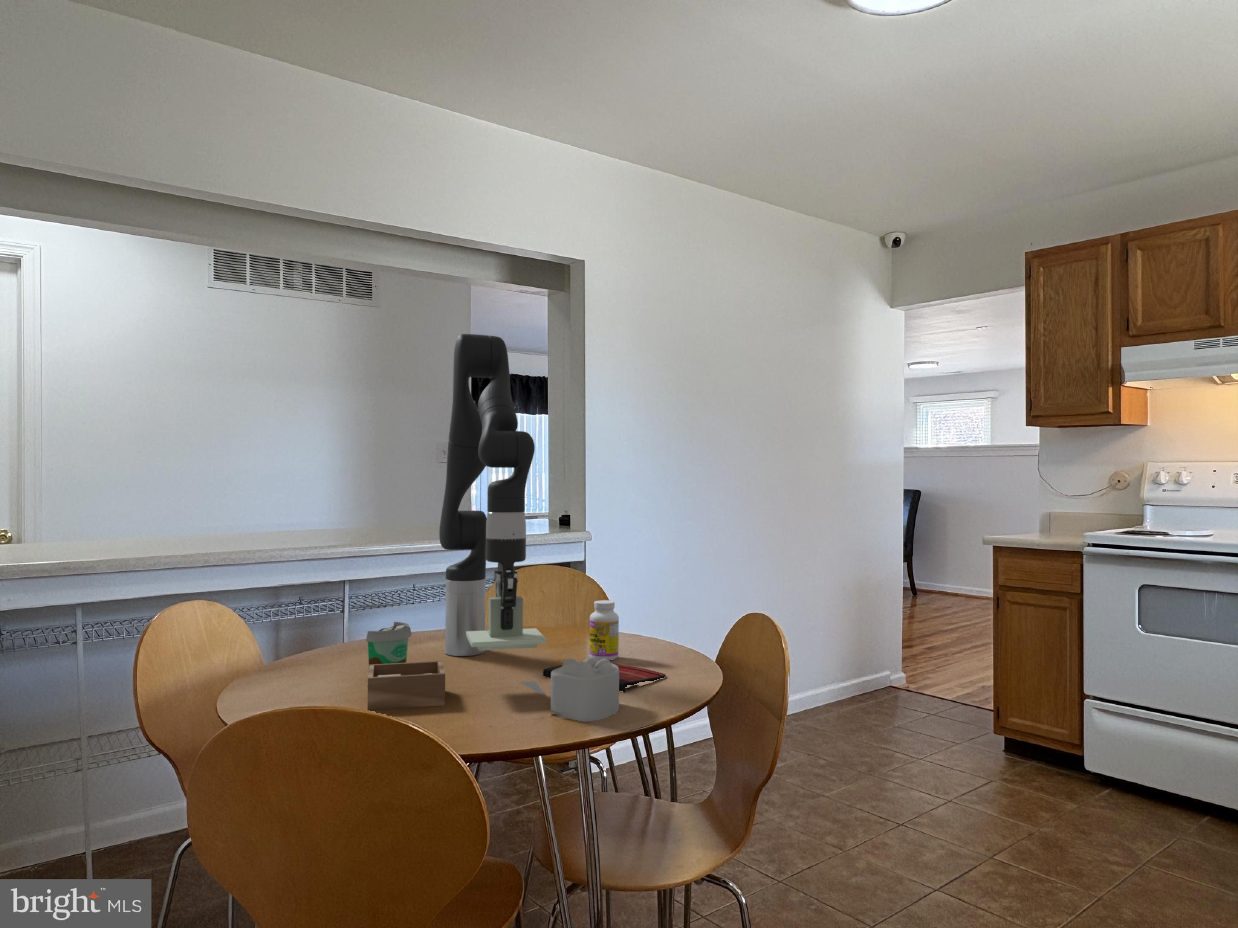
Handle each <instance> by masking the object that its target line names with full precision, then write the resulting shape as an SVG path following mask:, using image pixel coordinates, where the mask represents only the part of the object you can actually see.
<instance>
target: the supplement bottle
mask: <svg viewBox="0 0 1238 928" xmlns="http://www.w3.org/2000/svg"><path fill="white" fill-rule="evenodd" d="M593 607H594V612H592V613H591V614H590V615H589V645H588V646H589V648H588V649H589V650H588V651H589V655H588V657H594V658H596V659H598V660H601V659H608V660H609V659H614V660H616V659H617V657H618V658H619V640H620V639H619V630H620V629H619V622H620V621H619V618H620V617H619V615H618V613H617V612H615V611H614V609H615V607H616V606H615V601H613V600H608V599H606V600H605V599H603V600H602V599H601V600H595V601H594V602H593ZM615 658H616V659H615Z"/></svg>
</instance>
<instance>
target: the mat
mask: <svg viewBox="0 0 1238 928" xmlns="http://www.w3.org/2000/svg"><path fill="white" fill-rule="evenodd" d="M519 683H520V684H522V685H524V686H526V687H527V688H529V689H531V690H533V691H535V692H536V693H538V694H541V695H543V696H545V697H547V695H546V694H545V692H544V691H543V690H542V688H541V687H540V686H539V684H538V683H537V681H535V680H534V681H533V680H532V681H519Z"/></svg>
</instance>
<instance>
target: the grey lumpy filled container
mask: <svg viewBox="0 0 1238 928" xmlns="http://www.w3.org/2000/svg"><path fill="white" fill-rule="evenodd" d="M612 663H613V662H611V660H610V661H609V660H608V659H601V660H598V659H596V658H594V657H590V656H587V658H585V659H584V660H583V661H582V662H581V661H579V660H576V659H575V658H567V659H566V660H564V662H563V663H562V664H561V665H562V667H560V668H558V669H555V670H553V671H552V672H551V678H550V710H551V712H554V713H551V714H550V715H551V716H552V717H555V718H562V719H569V720H572V721H576V720H577V721H576V722H583V723H584V722H587V723H588V721H590V722H594V721H593V720H597V721H600V719H601V720H603V719H606V718H609V717H610V715H611V716H613V715H615V714H617V713H618V712H619V711H618V710H620V691H619V668H618V666H616V665H615V664H616V663H615V664H612ZM617 711H618V712H617ZM616 712H617V713H616ZM614 713H615V714H614ZM612 714H613V715H612ZM608 716H609V717H608ZM605 717H606V718H605Z"/></svg>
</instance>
